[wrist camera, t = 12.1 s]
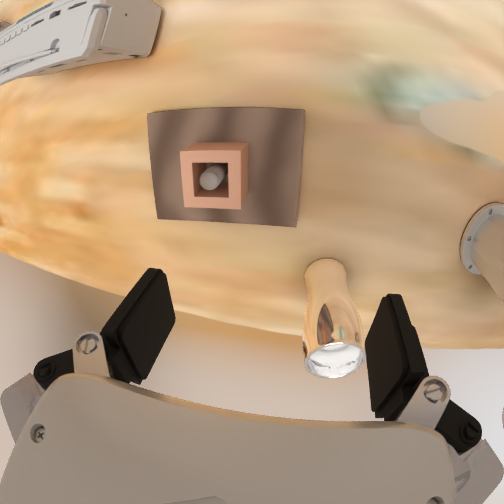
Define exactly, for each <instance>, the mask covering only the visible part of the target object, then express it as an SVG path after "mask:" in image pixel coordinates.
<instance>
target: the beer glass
mask: <svg viewBox="0 0 504 504" xmlns="http://www.w3.org/2000/svg"><path fill="white" fill-rule="evenodd" d="M304 280H305V284H306V287H307V290H308V299H307V304H306V308H305V313H304V318H303V327H302V338H303V352H304V365H305V368H306V370H307V371H308V372H309V373H311V374H312V375H314V376H317V377H320V378H340V377H344V376H347V375H350V374H352V373H354V372H356V371H357V370H358V369H360V368H361V367H362V366H363V365H364V363H365V361H366V353H365V337H364V331H363V325H362V321H361V318H360V315H359V312H358V310H357V307H356V305H355V303H354V301H353V299H352V298H351V296H350V294H349V292H348V290H347V287H346V270H345V268H344V266H343V265H342V264H341V263H340V262H338V261H337V260H334V259H329V258H325V259H320V260H317V261H315V262H313V263H312V264H310V265H309V266H308V268H307V269H306V271H305V275H304Z"/></svg>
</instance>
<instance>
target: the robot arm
mask: <svg viewBox="0 0 504 504" xmlns="http://www.w3.org/2000/svg"><path fill="white" fill-rule="evenodd" d="M460 257H461V260H462V263H463V265H464V266H465V268H466V269H467V270H468V271H469V272H470V273H472V274H475V275H481V274H482V275H483V276H484V278H485V279H486V280H487V282H488V283H489V285H490V286H491V287H492V289H493V290H494V292H495V293H496V295H497V296H498V297H499V299H500V300H501V302H502V303H503V305H504V205H503V204H501V203H491V204H488V205H486V206H484V207H482V208H481V209H480V210H479V211H478V212H477V213H476V214H475V215H474V216H473V217H472V219H471V220H470V222H469V223H468V225H467V227H466V229H465V232H464V234H463V237H462V241H461V247H460ZM174 323H175V313H174V309H173V304H172V300H171V296H170V291H169V286H168V282H167V277H166V274H165V273H163V271H162V270H161V269H155V268H148V269H147V271H146V272H145V273H144V274H143V276H142V277H141V278H140V279H139V281H138V282H137V283H136V284H135V286H134V287H133V288H132V290H131V291H130V292H129V293H128V295H127V296H126V297H125V299H124V300H123V301H122V303H121V304H120V305H119V307H118V308H117V309H116V311H115V312H114V314H113V315H112V316H111V318H110V319H109V320H108V322H107V323H106V324H105V326H104V327H103V329H102V331H101V332H100V334H99V333H97V332H95V331H88V332H84V333H82V334H80V335H79V336H78V337H77V338H76V339H75V341H74V343H73V349H71V350H68V351H65V352H62V353H59V354H56V355H53V356H50V357H48V358H45V359H43V360H41V361H40V362H38V364H37V365H36V366H35V369H34V374H33V375H32V374H31V373H29V374H27V375H26V376H25V377H23V378H22V379H20V380H19V381H17V382H16V383H14V384H13V385H11V386H10V387H8V388H7V389H5V390H4V391H3V393H2V395H1V399H0V400H1V405H2V409H3V412H4V415H5V417H6V421H7V423H8V426H9V429H10V431H11V434H12V437H13V439H14V441H15V446H14V448H13V451H12V453H11V456H10V458H9V461H8V463H7V466H6V469H5V471H4V474H3V477H2V480H1V483H0V504H482V503H483V502H484V501H485V500H486V499H487V498H488V496H489V495H490V494H491V493H492V492H493V490H494V489H495V488H496V487H497V486H498V484H499V483H500V481H501V480H502V478H503V474H504V468H503V466H502V464H501V462H500V461H499V459H498V457H497V456H496V454H495V453H494V451H493V450H492V448H491V447H490V445H489V444H488V443H487V441H486V439H484V440H482V439H481V436H482V429H481V425H480V423H479V422H478V421H477V420H476V419H475V418H474V417H473V416H471V415H470V414H469V413H467V412H466V411H465V410H463V409H462V408H461V407H459V406H458V405H457V404H455V403H454V402H453V401H451V400H450V395H451V394H450V388H449V385H448V384H447V383H446V381H444V380H443V379H442V378H440V377H438V376H429V373H428V369H427V366H426V362H425V358H424V355H423V352H422V348H421V345H420V342H419V338H418V335H417V332H416V329H415V327H414V326H413V325H411V322H410V319H409V316H408V313H407V310H406V307H405V304H404V301H403V299H402V296H401V295H400V294H387V296H386V297H383V298H382V300H381V303H380V305H379V308H378V310H377V313H376V316H375V318H374V320H373V323H372V325H371V328H370V330H369V333H368V335H367V337H366V340H365V353H366V361H367V369H368V377H369V387H370V399H371V409H372V411H373V412H375V418H384V421H363V422H362V421H361V422H360V421H319V420H302V419H291V418H281V417H271V416H264V415H257V414H250V413H244V412H238V411H232V410H227V409H222V408H217V407H212V406H207V405H203V404H198V403H194V402H190V401H186V400H182V399H178V398H174V397H171V396H167V395H163V394H160V393H157V392H153V391H150V390H147V389H144V388H140V387H137V386H134V385H131V384H129V383H130V381H131V382H133V383H136V384H139V385H140V384H141V382H142V380H143V379H146V378H147V376H148V374H149V372H150V370H151V368H152V366H153V364H154V362H155V360H156V358H157V356H158V355H159V353H160V351H161V349H162V347H163V345H164V342H165V341H166V339H167V337H168V335H169V333H170V331H171V329H172V327H173V325H174ZM502 420H503V427H504V408H503V414H502Z"/></svg>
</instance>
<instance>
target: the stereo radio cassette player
mask: <svg viewBox="0 0 504 504" xmlns="http://www.w3.org/2000/svg"><path fill="white" fill-rule="evenodd" d="M160 15H161V8H160V7H159V6H158V5H157V4H155V3H154V2H153V1H151V0H55V1H53V2H51V3H49V4H47V5H45V6H44V7H42V8H40V9H38V10H36V11H34V12H32V13H30V14H29V15H27V16H25V17H24V18H22V19H20V20H18V21H17V22H15V23H14V24H12V25H11V26H9V27H7V28H6V29H4V30H3V31H1V32H0V86H1V85H3V84H5V83H7V82H10V81H12V80H15V79H17V78H23V77H30V76H38V75H45V74H51V73H55V72H59V71H63V70H67V69H71V68H75V67H80V66H85V65H90V64H96V63H101V62H108V61H115V60H122V59H131V58H142V57H147V56H148V55H149V54H150V52H151V50H152V47H153V43H154V40H155V37H156V32H157V28H158V24H159V20H160Z"/></svg>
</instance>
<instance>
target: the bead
mask: <svg viewBox="0 0 504 504" xmlns="http://www.w3.org/2000/svg"><path fill="white" fill-rule="evenodd" d="M207 162H216V163H228V182H221V183H220V184H219V185H218V187H217V188H215V189H213V190H206V189H204V188H203V187H202V186H201V184H200V176H201V174H202V173H203V172H204V171H205V170H207ZM180 163H181V176H182V188H183V199H184V207H193V208H219V209H240V210H241V208H242V206H243V203H244V201H245V199H246V196H247V194H248V142H204V143H194V144H192V145H190V146H189V147H187V148H185V149H183V150H181V151H180Z"/></svg>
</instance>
